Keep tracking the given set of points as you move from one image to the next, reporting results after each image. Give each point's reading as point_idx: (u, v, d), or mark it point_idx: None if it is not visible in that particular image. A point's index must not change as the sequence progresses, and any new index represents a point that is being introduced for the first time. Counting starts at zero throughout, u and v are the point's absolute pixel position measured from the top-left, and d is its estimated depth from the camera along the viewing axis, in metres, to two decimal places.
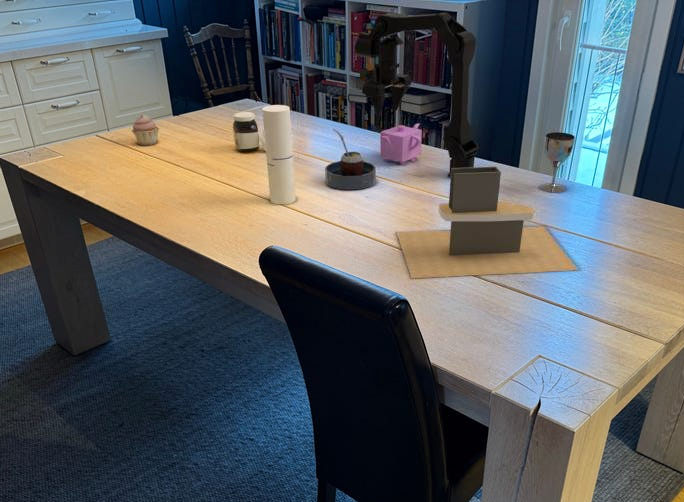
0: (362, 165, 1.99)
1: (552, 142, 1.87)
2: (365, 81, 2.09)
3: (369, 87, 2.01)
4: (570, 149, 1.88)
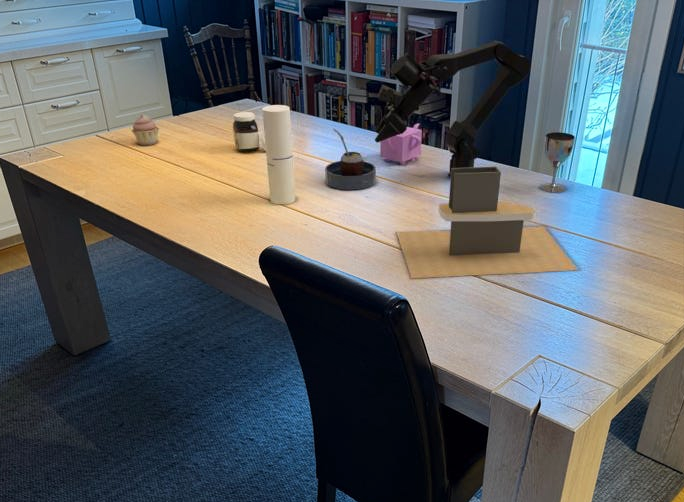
0: (362, 165, 1.99)
1: (552, 142, 1.87)
2: (382, 98, 1.87)
3: (399, 121, 1.84)
4: (570, 149, 1.88)
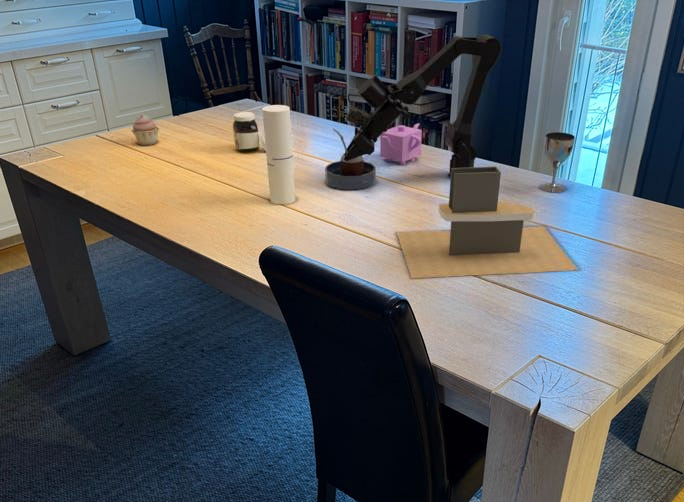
0: (362, 165, 1.99)
1: (552, 142, 1.87)
2: (350, 120, 1.91)
3: (367, 143, 1.87)
4: (570, 149, 1.88)
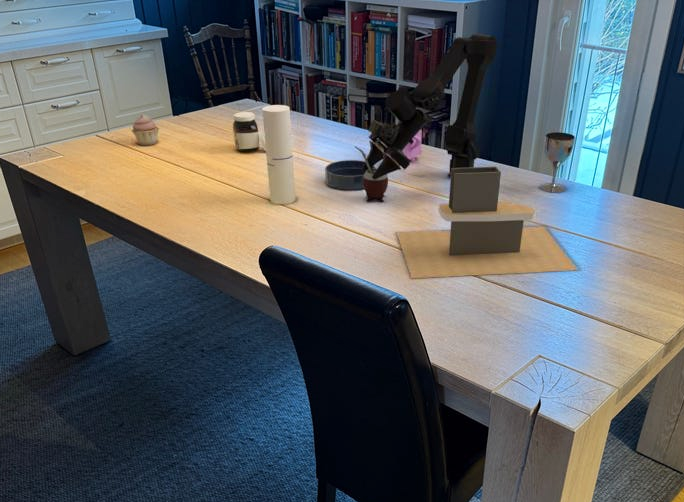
0: (387, 181, 1.88)
1: (552, 142, 1.87)
2: (377, 134, 1.79)
3: (403, 157, 1.77)
4: (570, 149, 1.88)
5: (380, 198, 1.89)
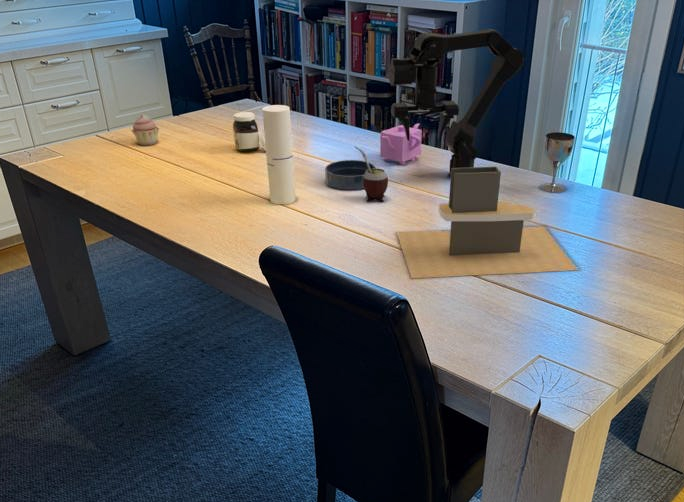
0: (387, 181, 1.88)
1: (552, 142, 1.87)
2: (412, 102, 1.98)
3: (393, 107, 1.91)
4: (570, 149, 1.88)
5: (380, 198, 1.89)
